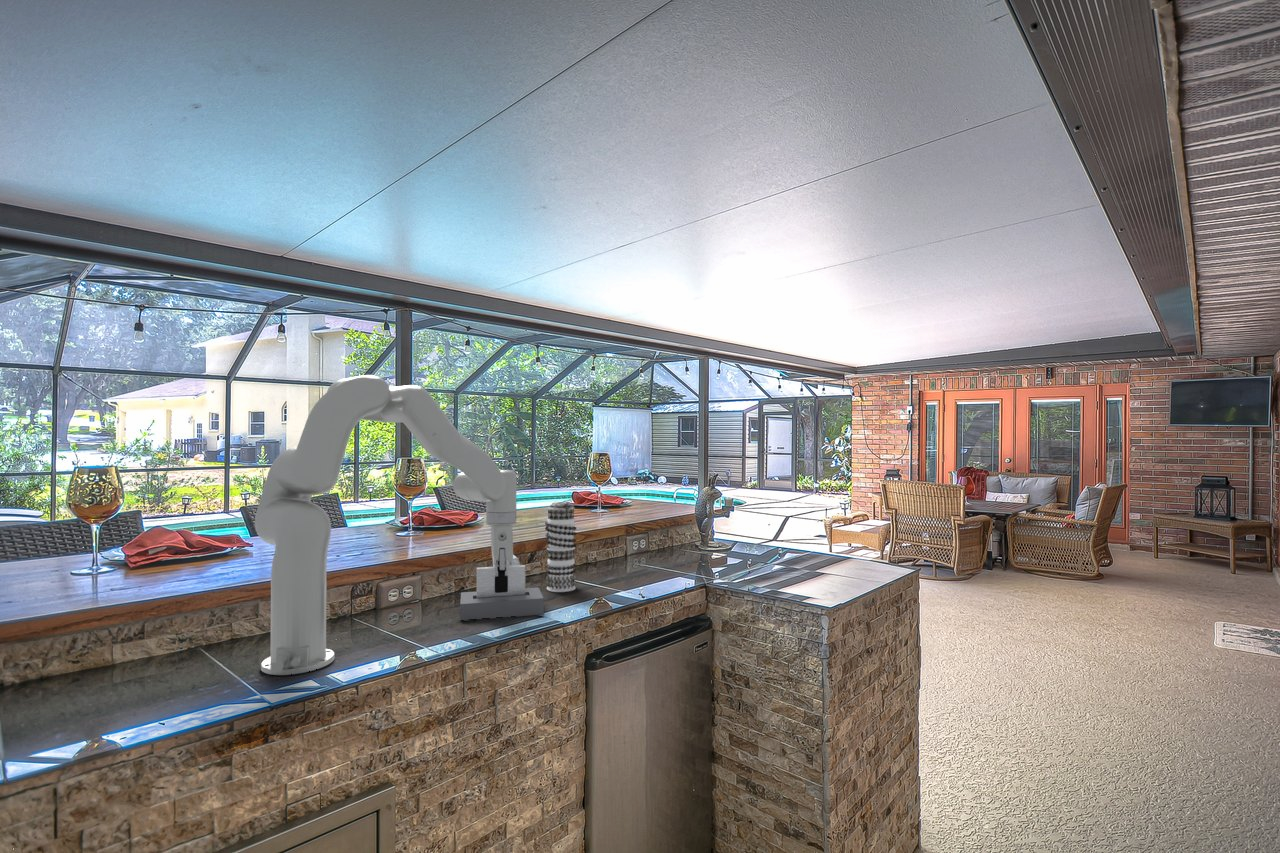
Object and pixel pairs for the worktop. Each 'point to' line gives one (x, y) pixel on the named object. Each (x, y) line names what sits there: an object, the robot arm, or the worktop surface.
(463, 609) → the slot holder
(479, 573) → the cover plate
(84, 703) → the worktop surface
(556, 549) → the decorative candle
